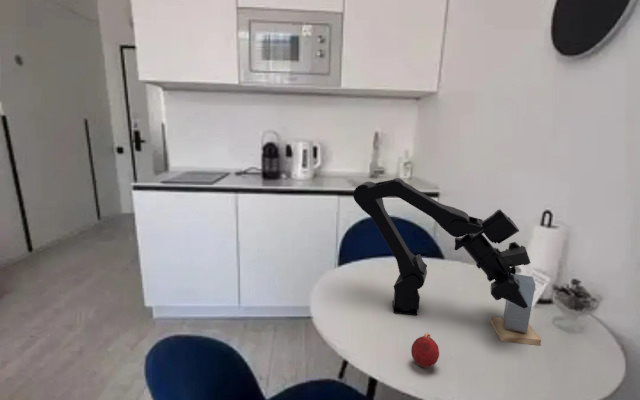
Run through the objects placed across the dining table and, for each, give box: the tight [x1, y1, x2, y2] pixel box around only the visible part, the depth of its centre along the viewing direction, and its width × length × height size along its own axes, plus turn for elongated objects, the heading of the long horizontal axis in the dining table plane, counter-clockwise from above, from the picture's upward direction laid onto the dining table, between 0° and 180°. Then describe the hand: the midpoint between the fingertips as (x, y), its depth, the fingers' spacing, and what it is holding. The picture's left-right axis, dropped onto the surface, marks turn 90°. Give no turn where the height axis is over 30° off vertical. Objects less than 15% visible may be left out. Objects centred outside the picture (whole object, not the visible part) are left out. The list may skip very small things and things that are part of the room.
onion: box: [410, 332, 440, 368], centre depth 80 cm, size 6×6×8 cm
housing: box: [502, 273, 536, 333], centre depth 93 cm, size 5×5×13 cm
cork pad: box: [489, 316, 542, 346], centre depth 95 cm, size 9×9×2 cm
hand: (524, 302), depth 93 cm, fingers closed on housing, 5 cm apart
